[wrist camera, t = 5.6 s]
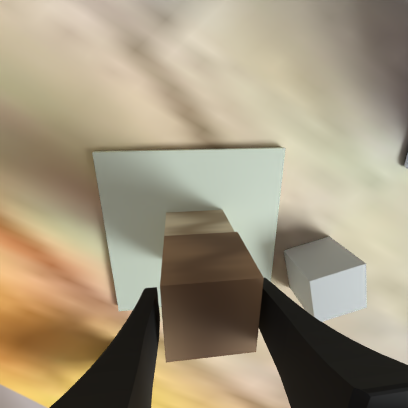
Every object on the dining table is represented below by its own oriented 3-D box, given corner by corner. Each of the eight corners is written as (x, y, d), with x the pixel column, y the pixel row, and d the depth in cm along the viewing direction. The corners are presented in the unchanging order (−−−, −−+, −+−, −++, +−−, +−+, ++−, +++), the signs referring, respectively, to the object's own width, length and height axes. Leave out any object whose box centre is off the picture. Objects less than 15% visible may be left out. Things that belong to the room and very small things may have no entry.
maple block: (222, 209, 19) (236, 235, 15) (221, 257, 20) (234, 294, 16) (166, 212, 18) (163, 240, 14) (169, 261, 20) (168, 299, 16)
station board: (282, 147, 18) (285, 148, 18) (266, 292, 23) (269, 296, 22) (94, 151, 17) (92, 152, 16) (120, 306, 21) (118, 311, 21)
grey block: (328, 235, 22) (365, 263, 18) (331, 273, 23) (366, 307, 19) (283, 250, 22) (309, 281, 18) (289, 287, 23) (315, 323, 19)
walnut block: (237, 231, 14) (263, 277, 10) (234, 290, 16) (256, 351, 12) (164, 235, 14) (159, 286, 10) (168, 296, 15) (165, 362, 11)
